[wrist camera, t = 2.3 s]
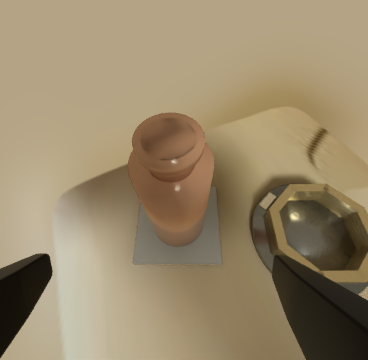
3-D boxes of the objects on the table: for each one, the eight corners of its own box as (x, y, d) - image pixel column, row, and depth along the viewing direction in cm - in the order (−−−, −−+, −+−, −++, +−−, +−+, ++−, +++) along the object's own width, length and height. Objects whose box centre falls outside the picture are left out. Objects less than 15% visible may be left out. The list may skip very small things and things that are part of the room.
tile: (221, 265, 19) (221, 264, 18) (134, 264, 19) (132, 263, 19) (215, 188, 23) (215, 185, 23) (143, 188, 23) (142, 185, 23)
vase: (177, 258, 19) (165, 202, 8) (142, 221, 21) (97, 138, 10) (213, 220, 21) (239, 136, 10) (178, 189, 22) (170, 92, 12)
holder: (340, 334, 16) (364, 339, 14) (228, 236, 20) (233, 227, 18) (389, 234, 20) (414, 226, 18) (287, 169, 24) (297, 155, 22)
